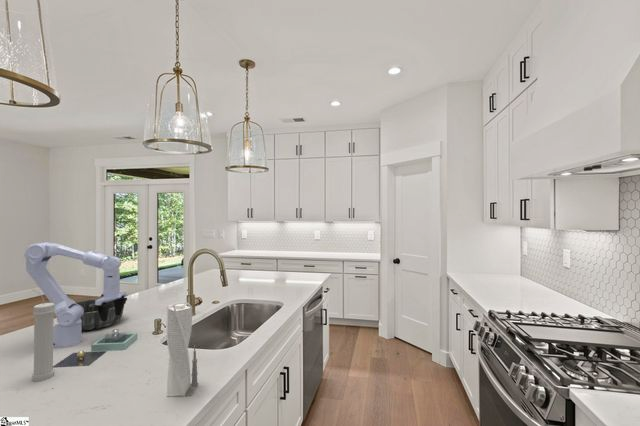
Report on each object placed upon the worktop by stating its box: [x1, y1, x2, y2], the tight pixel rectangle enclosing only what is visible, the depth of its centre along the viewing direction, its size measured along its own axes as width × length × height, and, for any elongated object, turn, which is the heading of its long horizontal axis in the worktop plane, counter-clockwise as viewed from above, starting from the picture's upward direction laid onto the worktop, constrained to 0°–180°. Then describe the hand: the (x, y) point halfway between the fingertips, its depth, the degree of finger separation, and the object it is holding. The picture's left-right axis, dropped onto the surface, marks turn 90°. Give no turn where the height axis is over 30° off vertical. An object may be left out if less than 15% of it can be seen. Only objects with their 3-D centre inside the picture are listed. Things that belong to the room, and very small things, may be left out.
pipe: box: [31, 288, 56, 382], centre depth 102 cm, size 6×6×30 cm
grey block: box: [105, 328, 127, 343], centre depth 128 cm, size 5×5×6 cm
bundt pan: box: [75, 297, 127, 331], centre depth 155 cm, size 26×26×10 cm
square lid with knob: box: [53, 350, 108, 369], centre depth 115 cm, size 12×12×4 cm
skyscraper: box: [165, 301, 199, 398], centre depth 96 cm, size 8×8×28 cm
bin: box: [90, 332, 138, 352], centre depth 128 cm, size 12×11×4 cm
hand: (111, 317), depth 134 cm, fingers open, 7 cm apart
